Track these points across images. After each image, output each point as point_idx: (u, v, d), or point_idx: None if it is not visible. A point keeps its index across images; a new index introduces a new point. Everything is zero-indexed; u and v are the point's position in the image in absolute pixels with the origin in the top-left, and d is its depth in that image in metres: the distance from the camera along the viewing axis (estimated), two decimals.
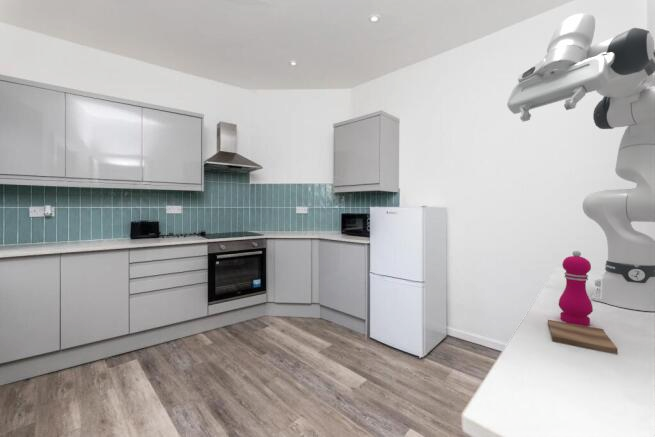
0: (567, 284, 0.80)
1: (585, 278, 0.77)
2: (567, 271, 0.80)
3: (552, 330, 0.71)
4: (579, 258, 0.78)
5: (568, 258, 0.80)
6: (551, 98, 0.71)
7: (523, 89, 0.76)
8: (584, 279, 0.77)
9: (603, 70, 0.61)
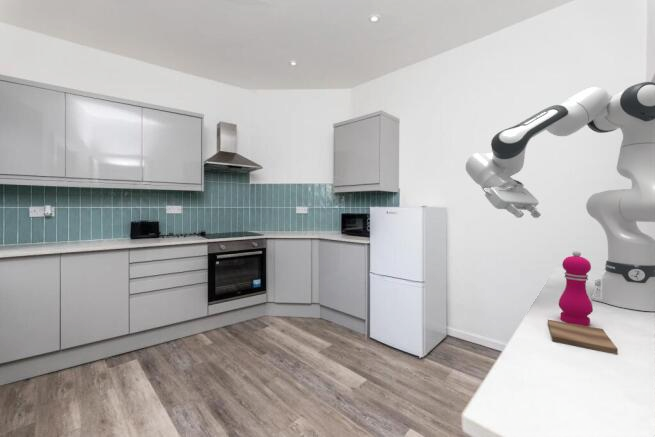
0: (567, 284, 0.80)
1: (585, 278, 0.77)
2: (567, 271, 0.80)
3: (552, 330, 0.71)
4: (579, 258, 0.78)
5: (568, 258, 0.80)
6: None
7: None
8: (584, 279, 0.77)
9: (492, 204, 0.91)
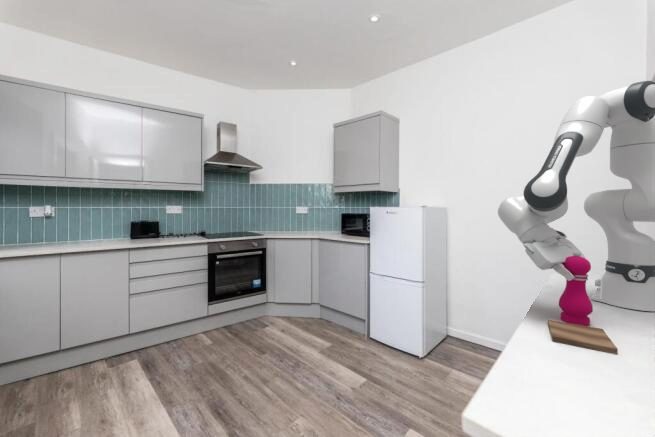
0: (567, 284, 0.80)
1: (585, 278, 0.77)
2: None
3: (552, 330, 0.71)
4: (579, 258, 0.78)
5: (568, 258, 0.80)
6: None
7: None
8: (584, 279, 0.77)
9: (536, 264, 0.80)
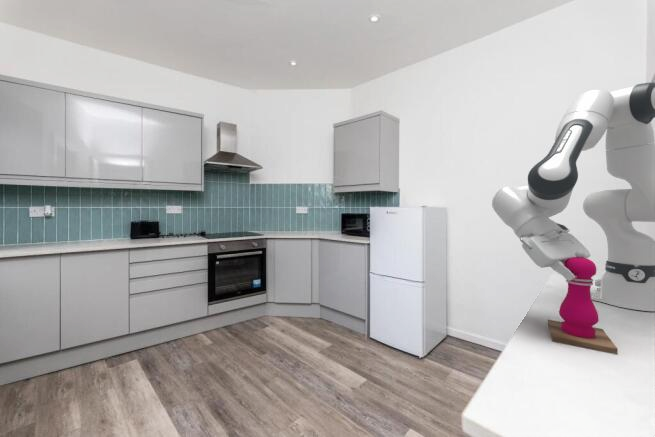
0: (569, 289, 0.70)
1: (590, 283, 0.67)
2: None
3: (552, 330, 0.71)
4: (583, 259, 0.68)
5: (570, 259, 0.69)
6: None
7: None
8: (589, 284, 0.67)
9: (534, 261, 0.70)
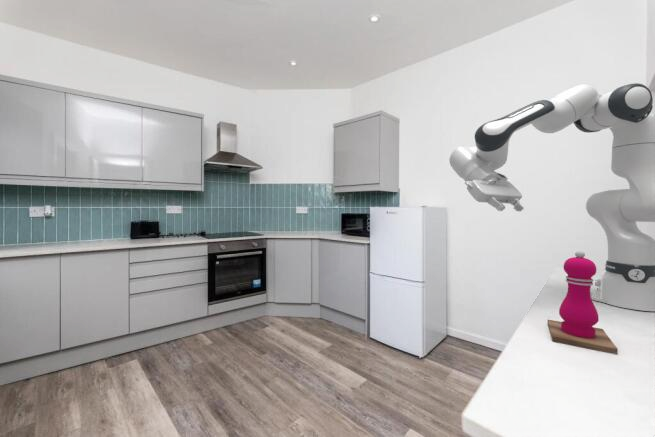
0: (569, 289, 0.70)
1: (590, 283, 0.67)
2: (569, 274, 0.69)
3: (552, 330, 0.71)
4: (583, 259, 0.68)
5: (570, 259, 0.69)
6: (501, 196, 0.92)
7: None
8: (589, 284, 0.67)
9: (474, 198, 0.89)
